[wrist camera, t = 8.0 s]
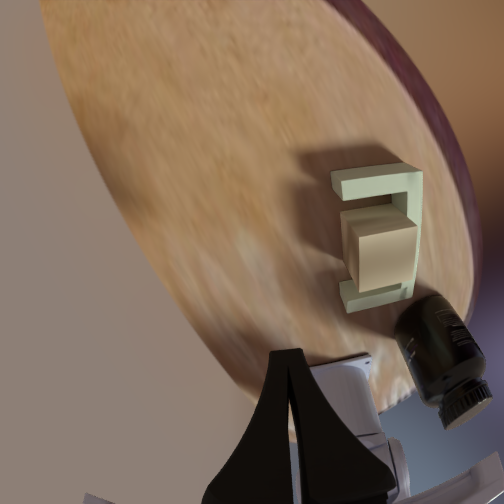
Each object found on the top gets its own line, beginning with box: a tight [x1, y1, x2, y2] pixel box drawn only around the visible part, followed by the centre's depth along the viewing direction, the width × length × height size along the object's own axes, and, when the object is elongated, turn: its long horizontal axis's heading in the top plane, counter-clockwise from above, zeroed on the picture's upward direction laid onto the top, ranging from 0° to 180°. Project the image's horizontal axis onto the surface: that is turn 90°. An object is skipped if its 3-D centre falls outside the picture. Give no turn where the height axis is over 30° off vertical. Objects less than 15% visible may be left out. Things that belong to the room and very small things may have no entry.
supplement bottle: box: [395, 296, 493, 430], centre depth 18 cm, size 7×7×12 cm
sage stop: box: [330, 162, 423, 313], centre depth 18 cm, size 10×6×2 cm, turn 12°
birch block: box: [340, 203, 418, 293], centre depth 17 cm, size 4×4×4 cm
